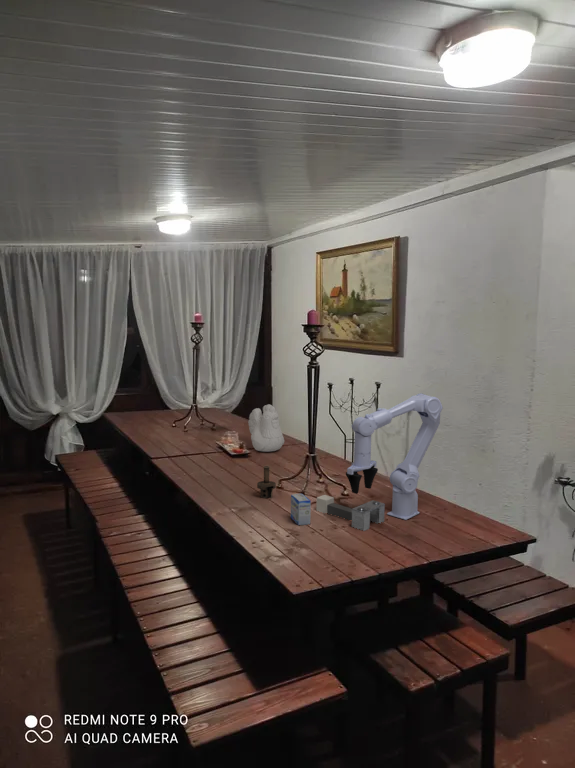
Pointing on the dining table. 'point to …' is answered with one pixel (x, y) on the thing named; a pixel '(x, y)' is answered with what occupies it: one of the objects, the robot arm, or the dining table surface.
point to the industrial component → (266, 485)
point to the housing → (367, 514)
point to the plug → (332, 507)
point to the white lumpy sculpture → (265, 429)
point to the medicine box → (300, 509)
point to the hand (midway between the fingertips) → (361, 490)
